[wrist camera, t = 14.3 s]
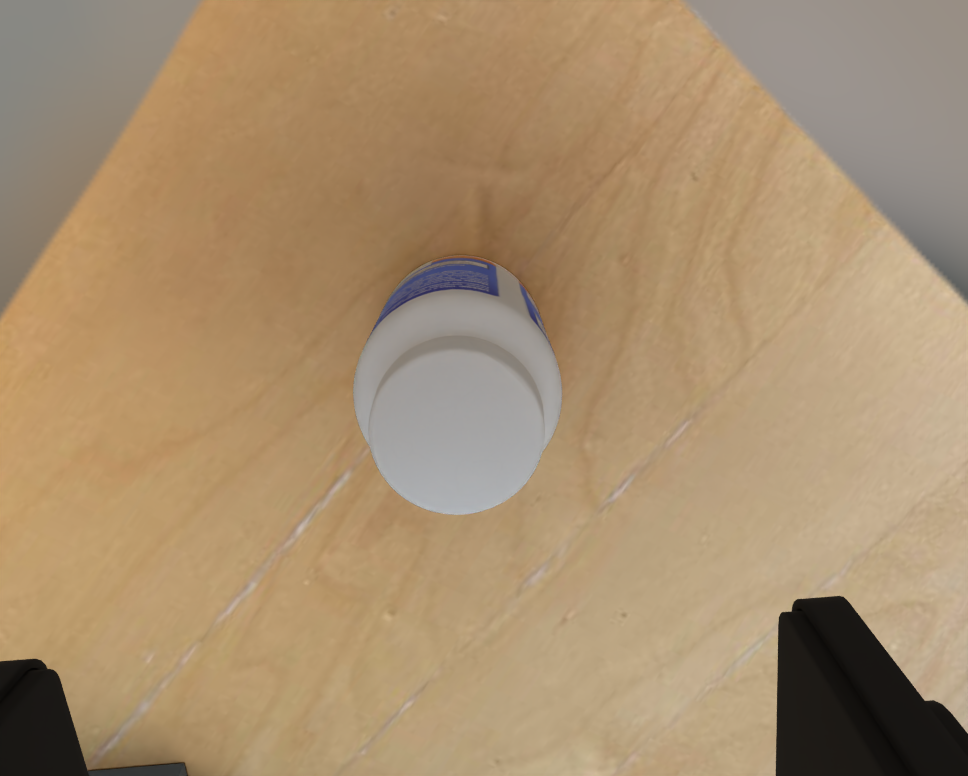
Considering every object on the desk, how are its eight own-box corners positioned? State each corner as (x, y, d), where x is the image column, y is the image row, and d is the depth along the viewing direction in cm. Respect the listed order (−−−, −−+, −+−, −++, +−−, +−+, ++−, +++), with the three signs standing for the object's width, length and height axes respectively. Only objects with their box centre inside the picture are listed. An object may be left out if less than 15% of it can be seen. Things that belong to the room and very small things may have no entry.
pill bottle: (353, 356, 27) (286, 472, 18) (436, 220, 26) (409, 269, 17) (487, 436, 28) (489, 585, 19) (574, 308, 27) (622, 402, 18)
